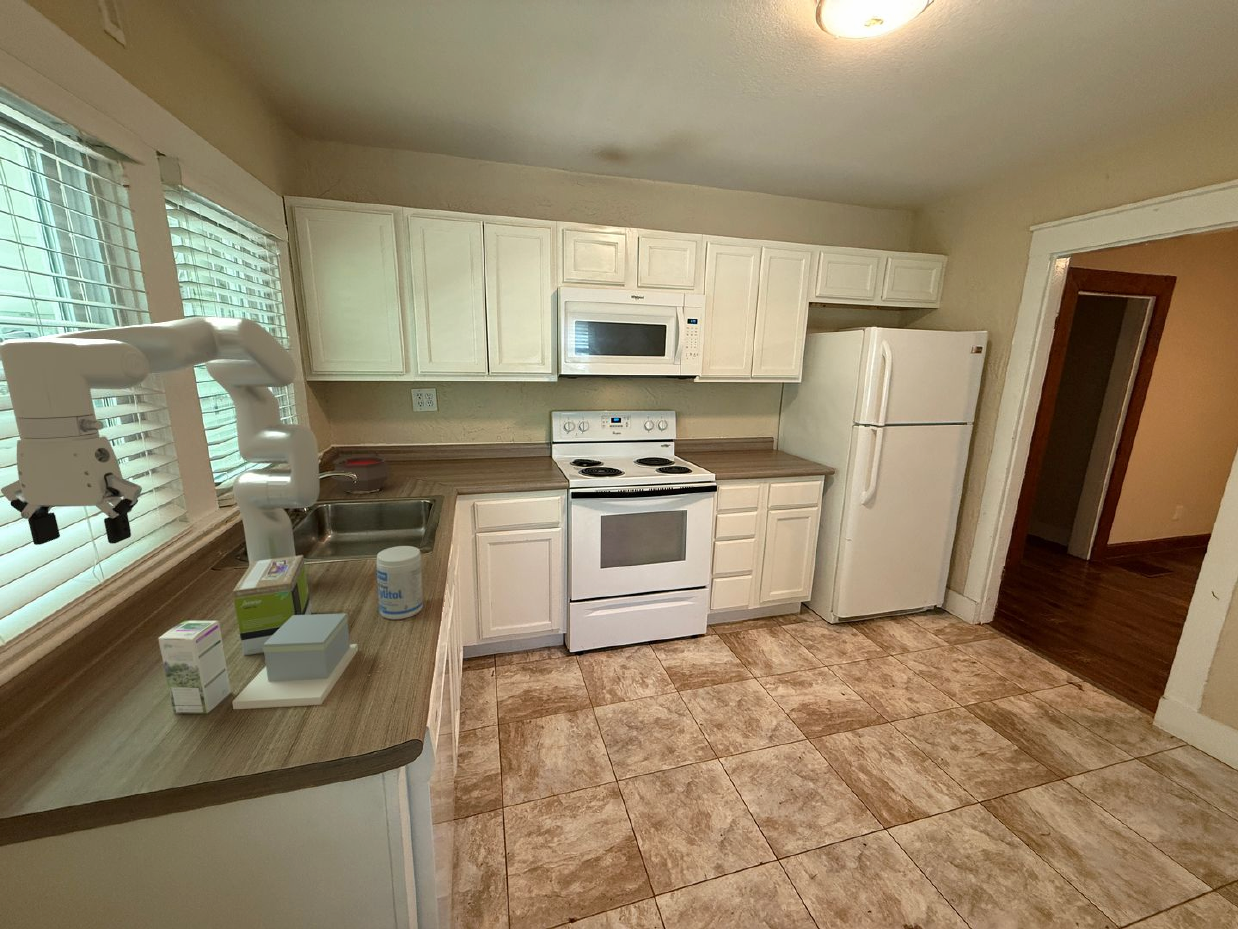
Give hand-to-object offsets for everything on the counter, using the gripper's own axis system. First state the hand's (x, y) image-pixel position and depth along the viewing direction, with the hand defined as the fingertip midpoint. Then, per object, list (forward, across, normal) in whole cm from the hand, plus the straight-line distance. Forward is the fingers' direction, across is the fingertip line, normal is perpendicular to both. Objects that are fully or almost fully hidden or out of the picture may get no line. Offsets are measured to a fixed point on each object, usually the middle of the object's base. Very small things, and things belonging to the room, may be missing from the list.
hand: (84, 540), depth 73 cm
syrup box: (+31, -10, -3) cm, 33 cm away
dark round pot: (+32, +14, -140) cm, 144 cm away
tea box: (+32, -11, -25) cm, 42 cm away
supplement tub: (+31, -34, -33) cm, 57 cm away
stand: (+31, -23, -9) cm, 40 cm away
